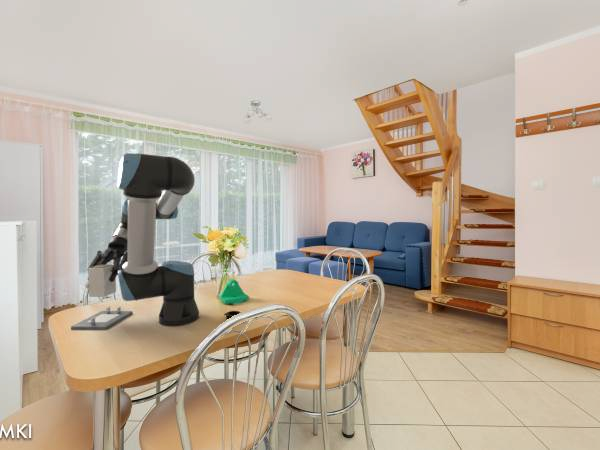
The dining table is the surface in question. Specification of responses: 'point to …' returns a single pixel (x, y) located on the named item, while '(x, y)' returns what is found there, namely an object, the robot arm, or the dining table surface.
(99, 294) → the block
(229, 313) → the duct tape
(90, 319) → the grey base plate
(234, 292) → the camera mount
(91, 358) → the dining table surface
